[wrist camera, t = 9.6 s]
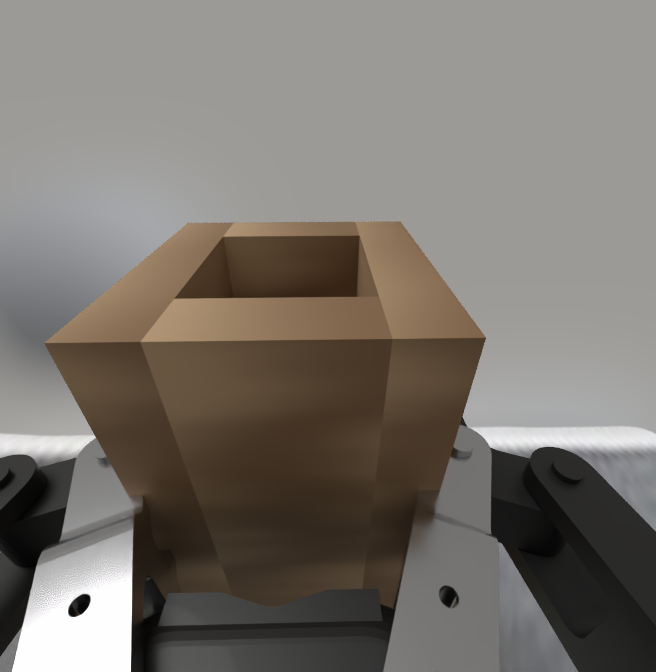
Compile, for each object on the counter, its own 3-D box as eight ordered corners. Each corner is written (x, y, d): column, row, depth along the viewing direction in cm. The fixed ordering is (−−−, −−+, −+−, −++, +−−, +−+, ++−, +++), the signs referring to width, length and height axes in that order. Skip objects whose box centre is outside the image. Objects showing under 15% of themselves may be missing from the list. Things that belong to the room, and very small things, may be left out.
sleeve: (216, 656, 11) (44, 343, 4) (247, 492, 16) (187, 222, 9) (392, 651, 11) (486, 337, 4) (370, 489, 16) (400, 221, 9)
